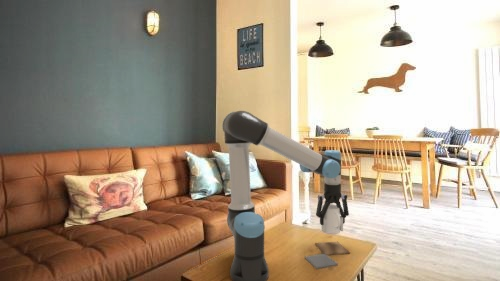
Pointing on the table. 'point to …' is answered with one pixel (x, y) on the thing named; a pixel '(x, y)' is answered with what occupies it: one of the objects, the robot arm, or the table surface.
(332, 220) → the mug
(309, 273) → the table surface
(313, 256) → the slate coaster
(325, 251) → the walnut coaster
